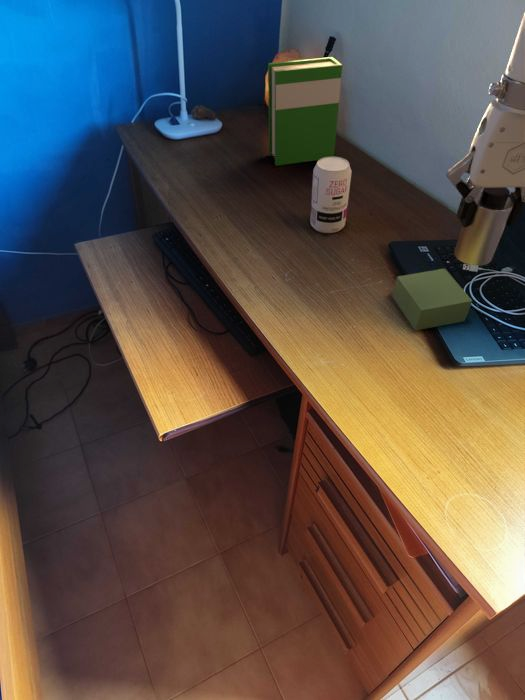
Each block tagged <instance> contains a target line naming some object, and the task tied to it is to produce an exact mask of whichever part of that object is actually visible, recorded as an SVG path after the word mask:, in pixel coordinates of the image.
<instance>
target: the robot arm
mask: <svg viewBox="0 0 525 700" xmlns="http://www.w3.org/2000/svg"><path fill="white" fill-rule="evenodd" d="M488 95H489V96H494V97H496V99H493V100H491V102H490V103H489V105H488V107H487V109H486V110H485V112H484V114H483V116H482V118H481V120H480V123H479V124H478V127H477V129H476V132H475V134H474V136H473V139H472V141H471V144H470V147H469V150H468V152H467V155H465V156H464V157H463V158H462V159H461V160H460V161H458V162H457V163H456V164H454V165H453V166H452V167H451V168H449V169H448V170H447V171H446V173H445V175H446V178H447V179H448V181H449V182H450V183H451V184H452V186H454V188H456V190H457V192H458V193H459V194H460V195H461V198H460V202H459V205H458V208H457V212H456V216H457V219H458V220H459V221H460V224H461V225H462V226H463V227H468V226H469V225H470V222H471V219H472V216H473V213H474V210H475V207H476V202H475V201H474V199H475V198H476V197H477V195H478V194H479V193H480V192H481V191H483V188H507V189H508V188H514V191H510V194H509V196H508V197H510V198H511V199H512V200H513V202H514V206H513V208H512V211H511V213H510V216H509V218H508V221H507V223H506V226H507V227H511V228H512V227H514V225H515V222H516V220H517V219H518V218H519V216H520V214H521V212H522V209H523V207H524V204H525V11H524V13H523V15H522V18H521V22H520V25H519V28H518V31H517V34H516V37H515V41H514V44H513V46H512V51H511V53H510V56H509V60H508V63H507V66H506V69H505V71H504V73H503V74H502V76H501V80H500V81H498V82H492V83H490V85H489V89H488ZM465 173H466V174H468V175H469V177H468V178H467V180H466V181H464V179H462V176H463V175H464V174H465Z"/></svg>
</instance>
